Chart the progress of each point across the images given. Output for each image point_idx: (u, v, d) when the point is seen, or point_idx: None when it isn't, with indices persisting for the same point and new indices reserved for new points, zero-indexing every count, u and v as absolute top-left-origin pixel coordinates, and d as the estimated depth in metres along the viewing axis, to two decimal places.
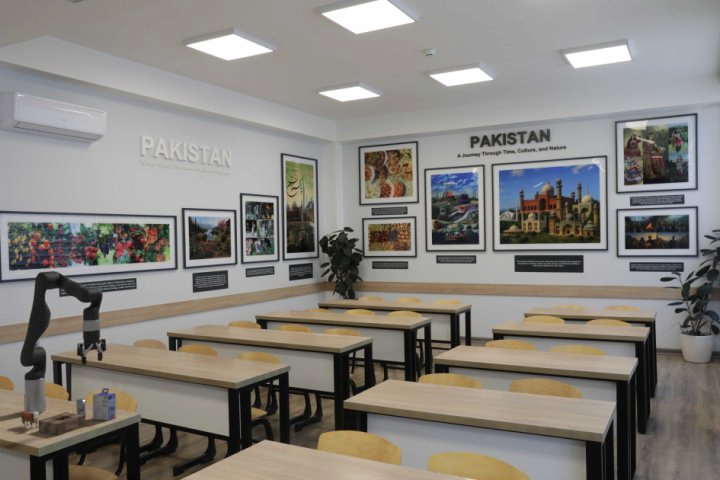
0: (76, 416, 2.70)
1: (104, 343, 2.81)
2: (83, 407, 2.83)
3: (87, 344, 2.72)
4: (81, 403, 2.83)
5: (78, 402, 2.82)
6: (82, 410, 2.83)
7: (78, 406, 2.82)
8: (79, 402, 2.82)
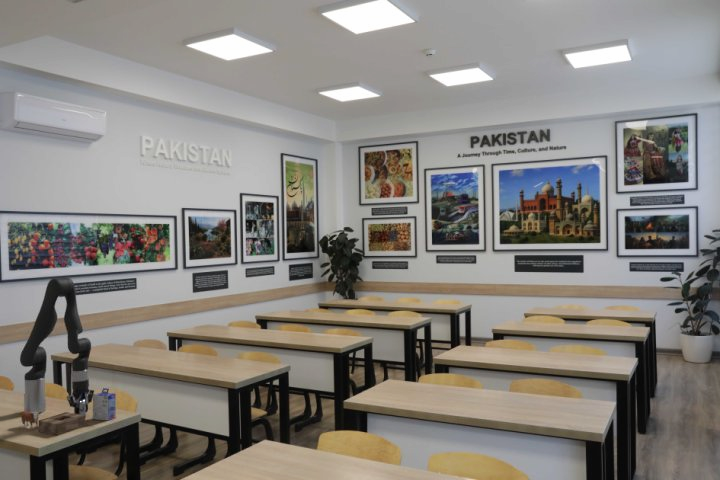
0: (76, 416, 2.70)
1: (92, 394, 2.88)
2: (83, 407, 2.83)
3: (76, 395, 2.81)
4: (81, 403, 2.83)
5: None
6: (82, 410, 2.83)
7: None
8: None
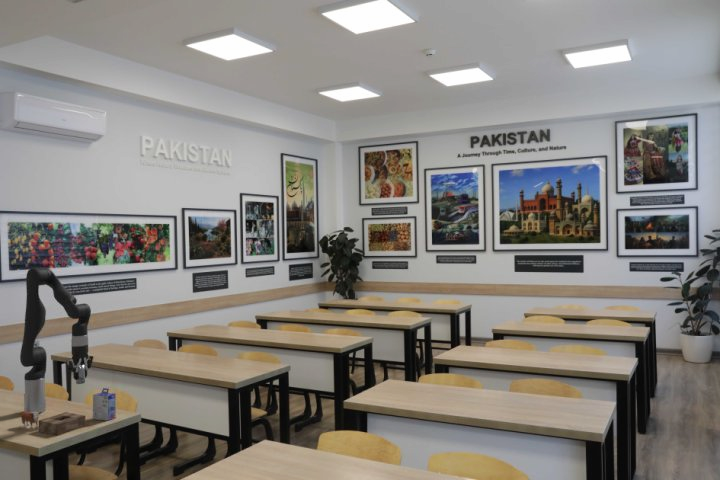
0: (76, 416, 2.70)
1: (91, 360, 2.88)
2: (83, 372, 2.83)
3: (75, 360, 2.81)
4: (81, 368, 2.83)
5: None
6: (81, 375, 2.83)
7: None
8: None
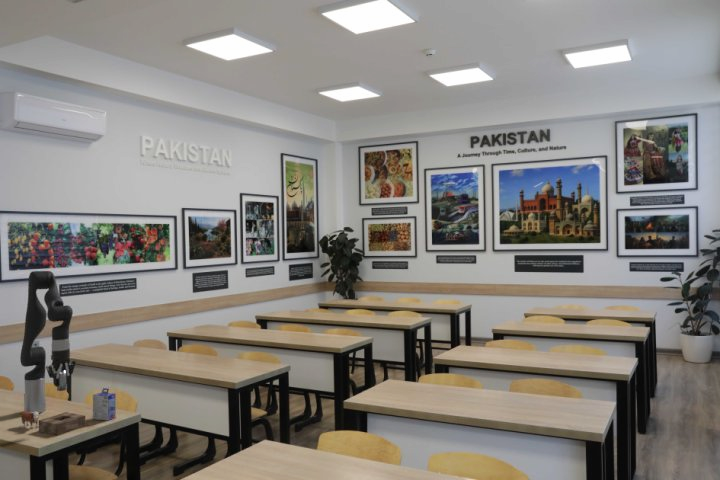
0: (76, 416, 2.70)
1: (73, 365, 2.72)
2: (64, 378, 2.67)
3: (56, 366, 2.64)
4: (62, 374, 2.66)
5: None
6: (62, 382, 2.66)
7: None
8: None
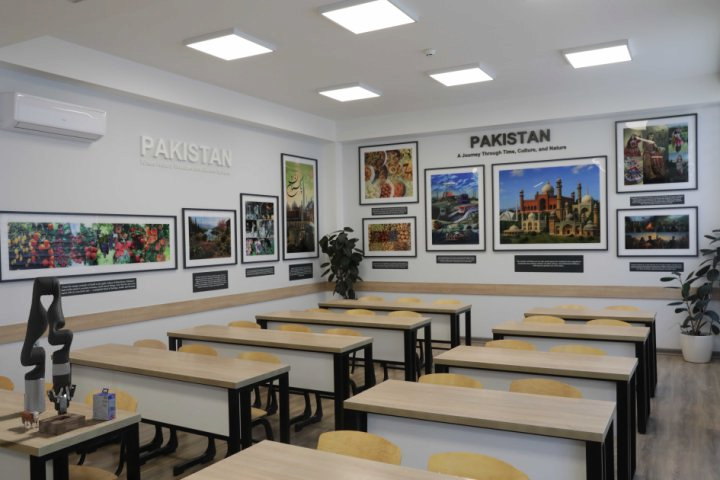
0: (76, 416, 2.70)
1: (73, 389, 2.72)
2: (64, 402, 2.67)
3: (56, 390, 2.64)
4: (62, 398, 2.66)
5: None
6: (63, 406, 2.66)
7: (59, 401, 2.66)
8: None
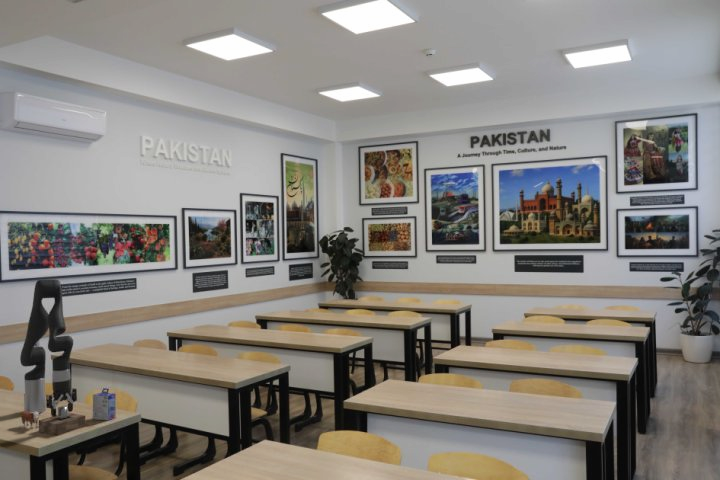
0: (76, 416, 2.70)
1: (75, 393, 2.72)
2: (65, 415, 2.67)
3: (56, 395, 2.64)
4: (63, 411, 2.66)
5: (59, 410, 2.66)
6: (63, 419, 2.66)
7: (59, 414, 2.66)
8: (60, 410, 2.66)
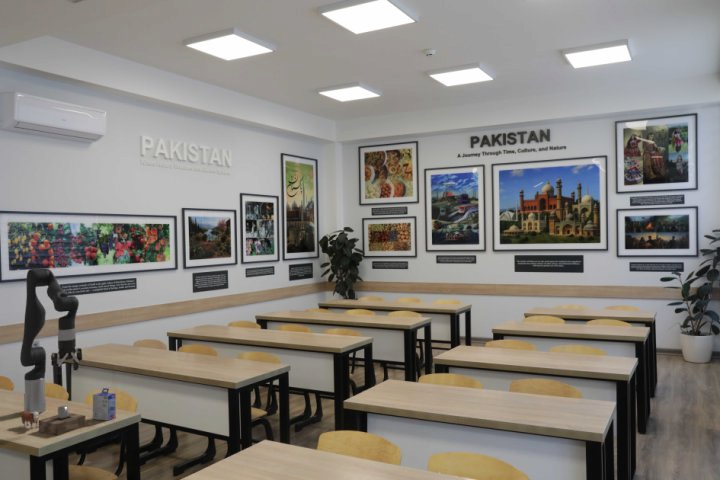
0: (76, 416, 2.70)
1: (80, 352, 2.78)
2: (65, 415, 2.67)
3: (62, 354, 2.70)
4: (63, 410, 2.66)
5: (59, 410, 2.66)
6: (63, 419, 2.66)
7: (59, 414, 2.66)
8: (61, 410, 2.66)
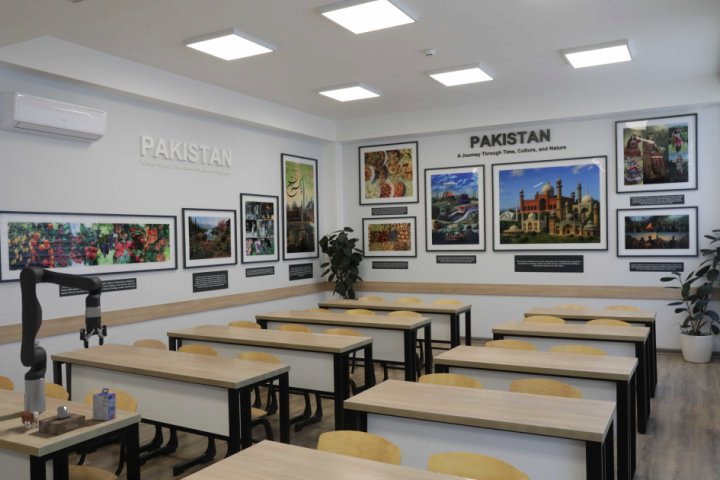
0: (76, 416, 2.70)
1: (105, 329, 3.01)
2: (65, 415, 2.67)
3: (89, 329, 2.92)
4: (63, 411, 2.66)
5: (59, 410, 2.66)
6: (63, 419, 2.66)
7: (59, 414, 2.66)
8: (60, 410, 2.66)
